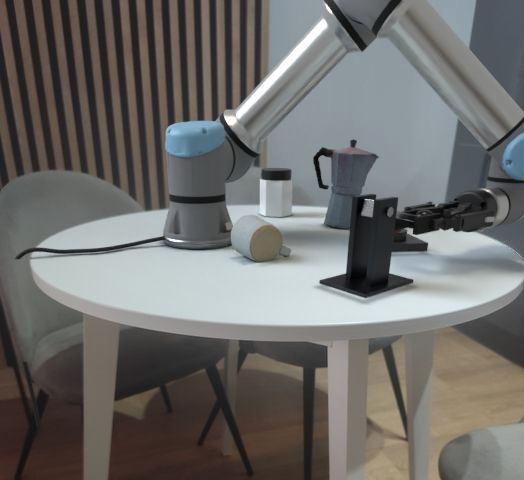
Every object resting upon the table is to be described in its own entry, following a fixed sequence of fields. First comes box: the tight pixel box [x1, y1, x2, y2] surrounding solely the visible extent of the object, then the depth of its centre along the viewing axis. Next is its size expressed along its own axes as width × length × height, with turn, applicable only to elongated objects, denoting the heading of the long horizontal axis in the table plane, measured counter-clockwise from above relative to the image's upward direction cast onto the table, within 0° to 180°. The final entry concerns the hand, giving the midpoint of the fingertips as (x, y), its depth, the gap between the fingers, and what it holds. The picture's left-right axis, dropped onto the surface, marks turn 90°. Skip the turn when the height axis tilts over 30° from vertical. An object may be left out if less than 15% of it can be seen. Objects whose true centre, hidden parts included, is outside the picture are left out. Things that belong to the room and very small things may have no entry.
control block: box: [392, 228, 429, 253], centre depth 101 cm, size 12×10×4 cm
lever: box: [361, 199, 433, 226], centre depth 78 cm, size 17×4×4 cm, turn 130°
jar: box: [259, 167, 294, 218], centre depth 136 cm, size 9×8×12 cm
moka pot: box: [312, 139, 380, 230], centre depth 120 cm, size 10×15×20 cm, turn 89°
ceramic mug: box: [231, 214, 292, 263], centre depth 92 cm, size 11×8×8 cm
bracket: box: [318, 193, 414, 299], centre depth 76 cm, size 12×9×14 cm
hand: (404, 223), depth 79 cm, fingers closed on lever, 4 cm apart
